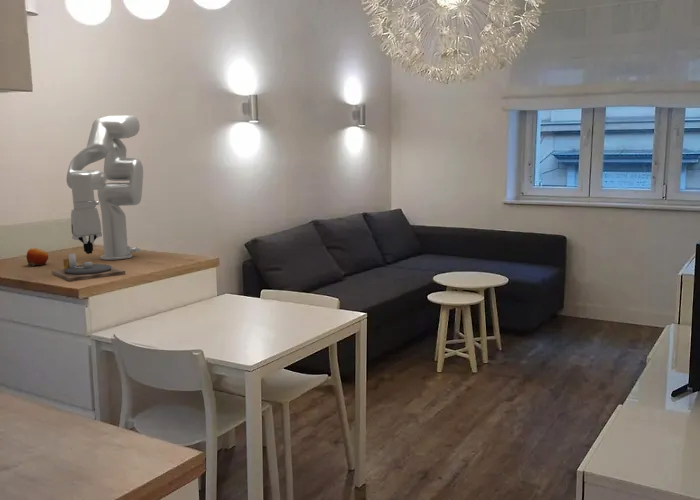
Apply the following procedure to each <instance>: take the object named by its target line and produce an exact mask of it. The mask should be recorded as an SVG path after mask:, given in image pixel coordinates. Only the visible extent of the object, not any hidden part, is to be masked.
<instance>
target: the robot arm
mask: <svg viewBox="0 0 700 500" xmlns="http://www.w3.org/2000/svg"><path fill="white" fill-rule="evenodd" d="M140 126H141V125H140V121H139V119H138V118H137V116H135V115H131V114H128V115H127V114H126V115H125V114H122V115H121V114H120V115H114V114H113V115H103V116H100V117H99V118H97V119H95V120H94V121H93V122H92V125H91V129H90V133H89V136H88V139H87V140H88V141H87V144H86V147H85V148H83V149H81V151H79V152H78V153H76V155H75V156H74V157H73V158H71V159H72V160H71V161H70V163H69V165H68V169H67V173H66V179H65V180H66V185H67V187H68V188H70V189H71V193H72V203H73V209H71V213H70V230H71V234H72V240H75V241H80V242H81V243H82V244H83V251H84V252H85V254H87V255H90V254H93V251H94V245H93V243H94V241H96V239H98V238H100V237H102V239H103V253H104V254H101V255H100V259H101V260H105V261H107V260H108V261H116V260H118V261H119V260H126V259H129V258H133V254H132V253H134V252H136V253H137V252H139V251H140V247H139V246H136V247H134V246H133V247H132V246H129V245H128V233H127V232H128V231H127V219H126V217H127V216H126V214H125V212H124V211H123V209H122V208H121V206H126V207H127V206H128V207H129V206H136V205H139V204H140V203H141V201H142V197H143V196H142V195H143V183H144V167H143V163H142V161H141V160H140V159H139V158H135V157H127V146H126V145H125V144H124V142H123V141H122V139H130V138H133V137H135V136H137V135H138V133H139V131H140ZM103 159H104V161H103V171H102V170H99V169H86V170H85V169H84V168H86V167H87V166H88V165H89V166H90V164H93V163H96V162H99V161H101V160H103ZM108 181H110V182H108ZM94 190H95V191H97V198H98V200H97V201H96V200H95V192H94ZM98 205H99V207H100V212H101V214H99V211H98V208H97V206H98ZM100 215H101V218H100ZM87 236H88V240H87Z"/></svg>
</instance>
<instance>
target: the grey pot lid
mask: <svg viewBox="0 0 700 500" xmlns="http://www.w3.org/2000/svg"><path fill="white" fill-rule="evenodd" d="M68 259H69V264H70V267H69V268H66V269H65V273H66V274H74V275H83V274H95V273H102V272H106V271H109V270H111V266H112V265H109V264H106V265H105V264H104V263H103V264H101V263H98V264H97V263H96V264H95V263H94V264H93V262H92V261H85V262H83V264H80V265H78V264H77V254H76V253H69V254H68Z"/></svg>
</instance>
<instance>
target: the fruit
mask: <svg viewBox="0 0 700 500" xmlns="http://www.w3.org/2000/svg"><path fill="white" fill-rule="evenodd" d="M48 260H49V254H48V252H46V251H45V250H43V249H40V248H38V247H34V248H30V249H28V251H27V252H26V261H27V264H28V266H32V268H33V267H34V266H44V265H46V264H47V261H48Z"/></svg>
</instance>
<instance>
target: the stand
mask: <svg viewBox="0 0 700 500" xmlns="http://www.w3.org/2000/svg"><path fill="white" fill-rule="evenodd" d="M105 265H107V264H105ZM110 266H111V270H109V271H106V272H102V273H95V274H83V275H74V274H66V273H65V269H66V268H69V267H70V264H69V258H64V259H63V269H55V270H51V274H52V275H53V276H56V277H58V278H61V279H62V280H65V281H68V282H77V281H82V280H83V281H84V280H90V279H98V278H106V277H107V278H108V277H114V276H120V275H122V276H123V275H126V273H127V272H126V270H124V269H121V268H118V267H115V266H113V265H110Z"/></svg>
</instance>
